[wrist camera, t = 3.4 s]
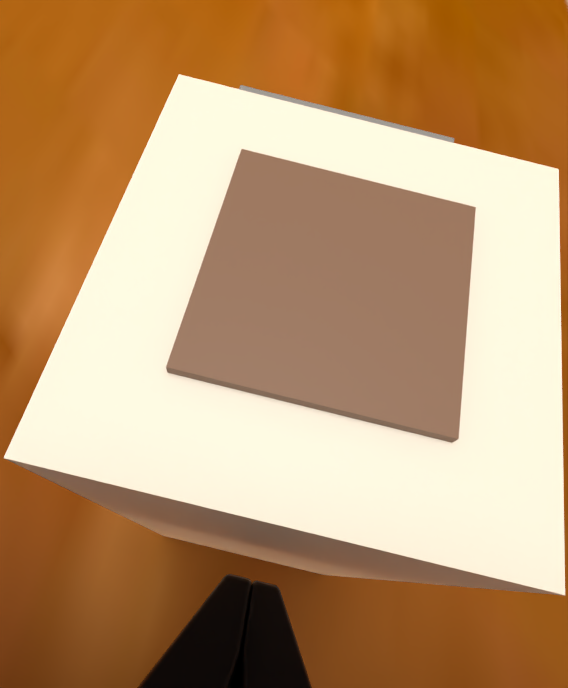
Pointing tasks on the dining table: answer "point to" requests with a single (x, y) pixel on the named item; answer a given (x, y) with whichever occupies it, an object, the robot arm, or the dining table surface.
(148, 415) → the white rectangular block
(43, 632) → the dining table surface
